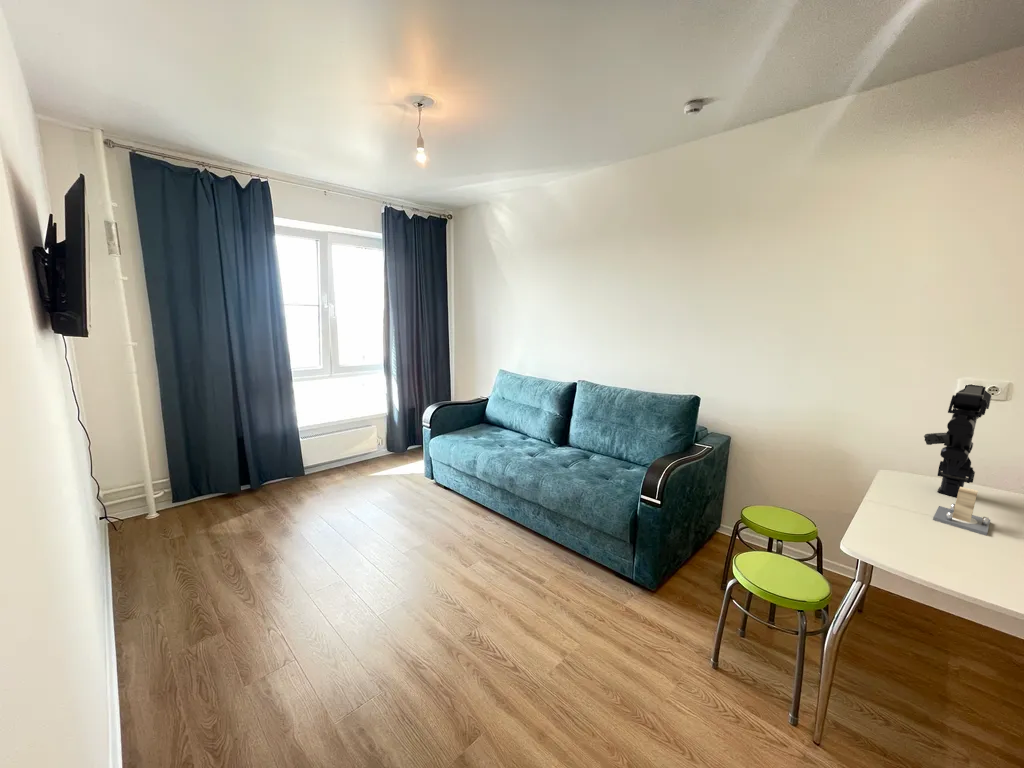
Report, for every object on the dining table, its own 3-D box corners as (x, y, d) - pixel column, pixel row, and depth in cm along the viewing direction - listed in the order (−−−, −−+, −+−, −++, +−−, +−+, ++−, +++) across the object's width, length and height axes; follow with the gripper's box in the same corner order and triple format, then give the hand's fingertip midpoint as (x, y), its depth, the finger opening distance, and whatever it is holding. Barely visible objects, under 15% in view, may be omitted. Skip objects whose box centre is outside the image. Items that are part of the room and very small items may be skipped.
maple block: (953, 513, 139) (960, 486, 137) (971, 518, 136) (977, 490, 134) (952, 517, 137) (958, 490, 135) (969, 522, 134) (976, 494, 132)
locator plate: (938, 508, 145) (940, 499, 144) (989, 522, 136) (992, 512, 135) (932, 519, 138) (934, 510, 137) (986, 535, 128) (989, 525, 128)
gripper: (933, 418, 153) (924, 458, 156) (924, 429, 142) (915, 471, 145) (977, 425, 144) (967, 467, 148) (972, 437, 133) (961, 481, 136)
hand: (952, 471), depth 144 cm, fingers open, 9 cm apart
